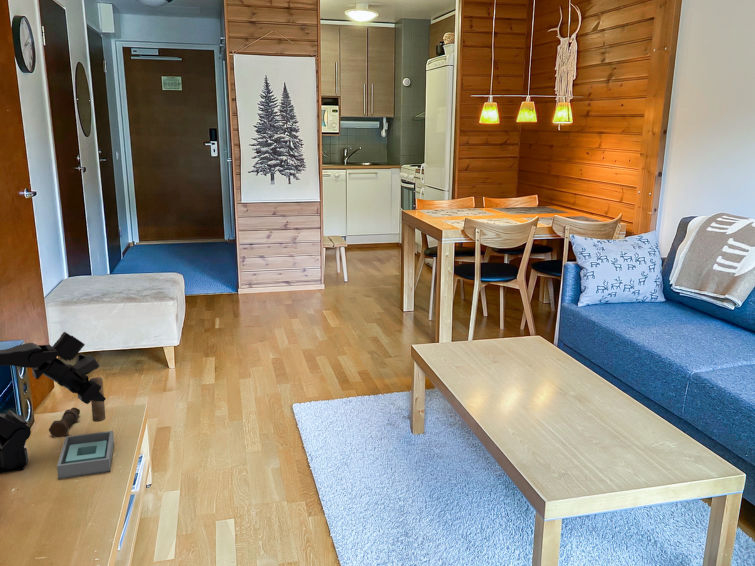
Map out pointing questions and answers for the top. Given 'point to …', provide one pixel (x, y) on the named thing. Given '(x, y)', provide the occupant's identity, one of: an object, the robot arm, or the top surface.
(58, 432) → the bolt
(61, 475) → the rim box
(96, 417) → the peg
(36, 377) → the robot arm
